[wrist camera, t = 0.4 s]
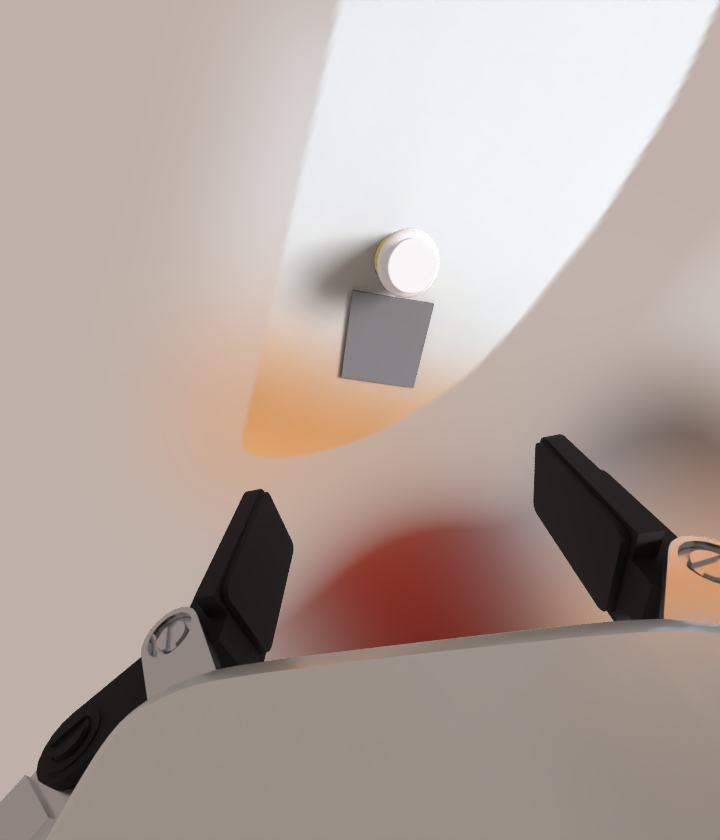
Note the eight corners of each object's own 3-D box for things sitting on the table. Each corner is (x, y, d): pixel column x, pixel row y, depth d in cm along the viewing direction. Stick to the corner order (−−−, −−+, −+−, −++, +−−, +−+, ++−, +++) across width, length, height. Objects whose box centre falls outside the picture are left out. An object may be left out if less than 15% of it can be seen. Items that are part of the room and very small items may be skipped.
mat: (352, 290, 35) (352, 290, 34) (433, 303, 35) (434, 304, 35) (341, 376, 39) (341, 377, 39) (412, 386, 40) (413, 387, 39)
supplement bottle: (364, 272, 34) (365, 279, 25) (391, 220, 32) (403, 208, 23) (406, 299, 35) (421, 315, 26) (436, 250, 33) (462, 251, 24)
